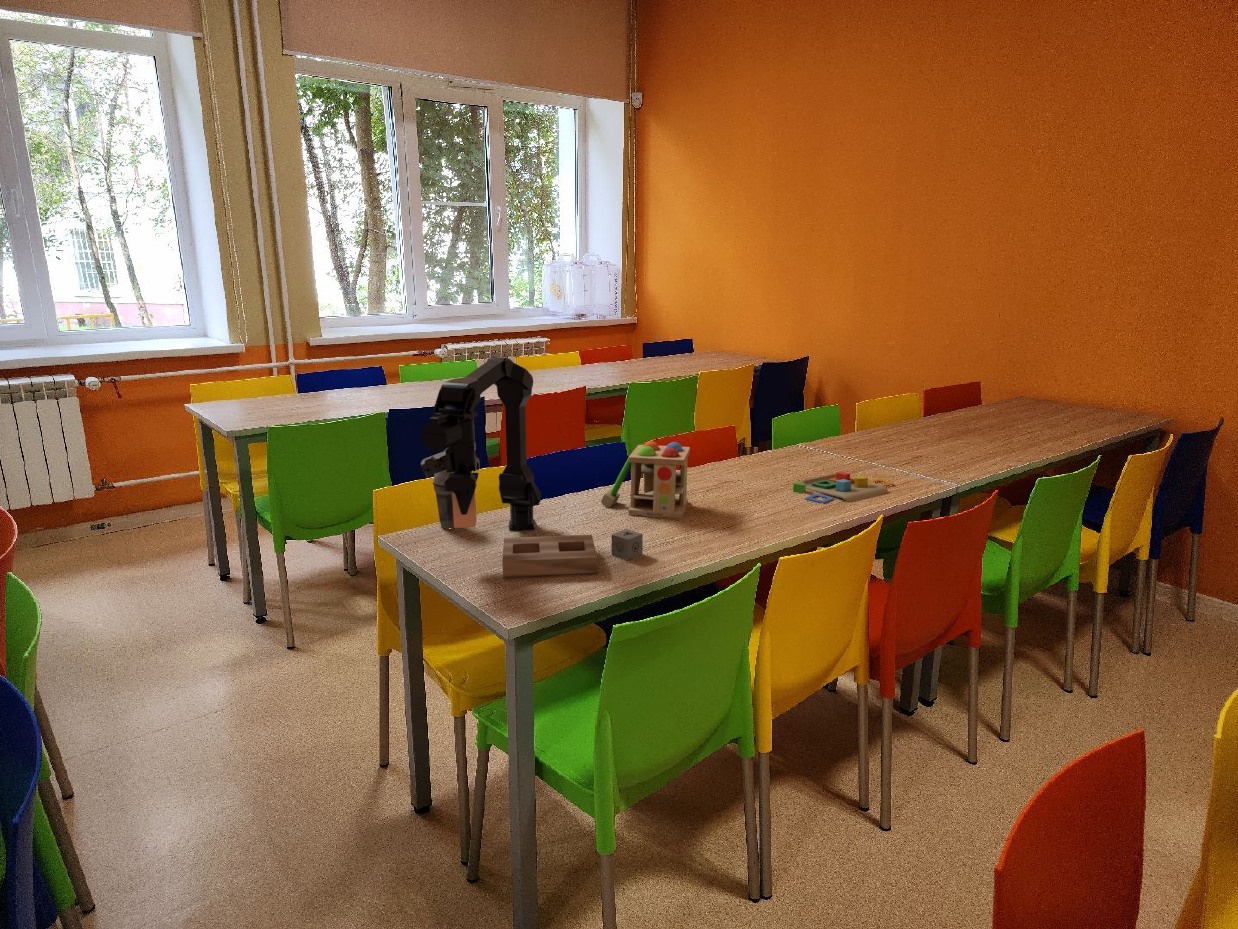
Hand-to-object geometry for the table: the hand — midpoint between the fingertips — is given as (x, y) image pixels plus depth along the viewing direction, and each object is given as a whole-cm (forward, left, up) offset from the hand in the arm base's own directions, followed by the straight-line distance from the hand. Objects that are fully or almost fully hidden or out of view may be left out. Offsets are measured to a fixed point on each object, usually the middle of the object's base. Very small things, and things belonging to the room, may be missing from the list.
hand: (464, 510), depth 172 cm
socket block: (+2, +18, -12) cm, 22 cm away
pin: (0, 0, -3) cm, 3 cm away
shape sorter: (-46, +105, -13) cm, 115 cm away
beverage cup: (-26, -6, -13) cm, 30 cm away
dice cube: (-2, +36, -13) cm, 38 cm away
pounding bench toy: (-36, +45, -13) cm, 58 cm away
